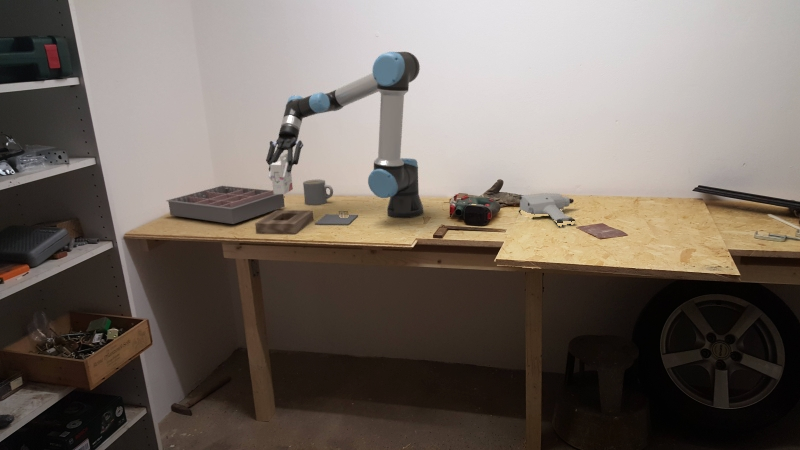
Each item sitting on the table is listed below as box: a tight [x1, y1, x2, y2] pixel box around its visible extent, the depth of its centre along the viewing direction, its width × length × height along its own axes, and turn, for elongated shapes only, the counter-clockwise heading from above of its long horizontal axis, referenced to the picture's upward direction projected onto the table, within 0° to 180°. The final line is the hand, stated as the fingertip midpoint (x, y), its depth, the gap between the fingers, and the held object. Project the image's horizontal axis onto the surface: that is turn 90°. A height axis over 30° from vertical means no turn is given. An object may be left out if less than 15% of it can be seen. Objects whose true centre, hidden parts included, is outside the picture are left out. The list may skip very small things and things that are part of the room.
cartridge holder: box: [254, 209, 314, 235], centre depth 233 cm, size 16×20×4 cm
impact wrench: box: [518, 192, 576, 223], centre depth 228 cm, size 8×23×25 cm
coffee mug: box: [302, 178, 334, 206], centre depth 268 cm, size 13×10×10 cm
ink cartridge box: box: [269, 152, 294, 195], centre depth 227 cm, size 9×5×15 cm, turn 169°
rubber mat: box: [314, 213, 359, 226], centre depth 239 cm, size 14×14×1 cm
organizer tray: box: [165, 185, 285, 225], centre depth 257 cm, size 32×40×10 cm
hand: (277, 178), depth 224 cm, fingers closed on ink cartridge box, 5 cm apart
